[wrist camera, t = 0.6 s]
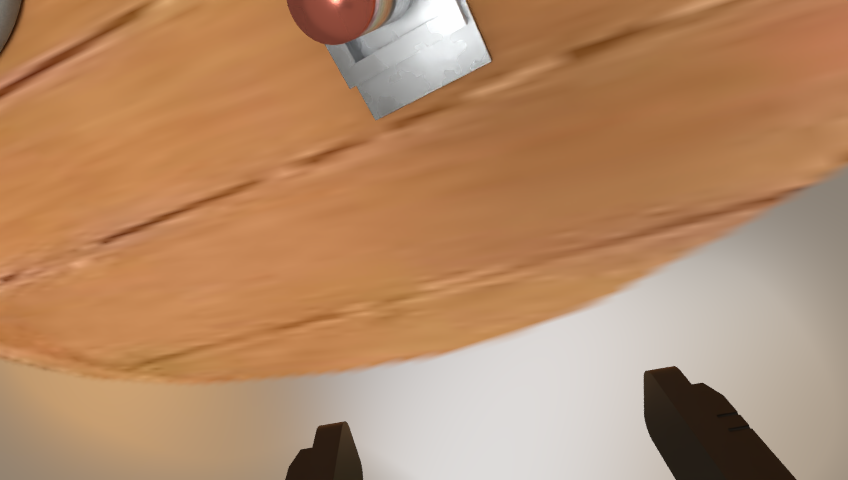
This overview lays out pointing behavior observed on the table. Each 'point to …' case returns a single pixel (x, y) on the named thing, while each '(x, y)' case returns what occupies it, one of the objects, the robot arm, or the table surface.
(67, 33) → the table surface
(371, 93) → the hitch
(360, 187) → the table surface
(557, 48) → the table surface
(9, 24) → the frisbee
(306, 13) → the pin
